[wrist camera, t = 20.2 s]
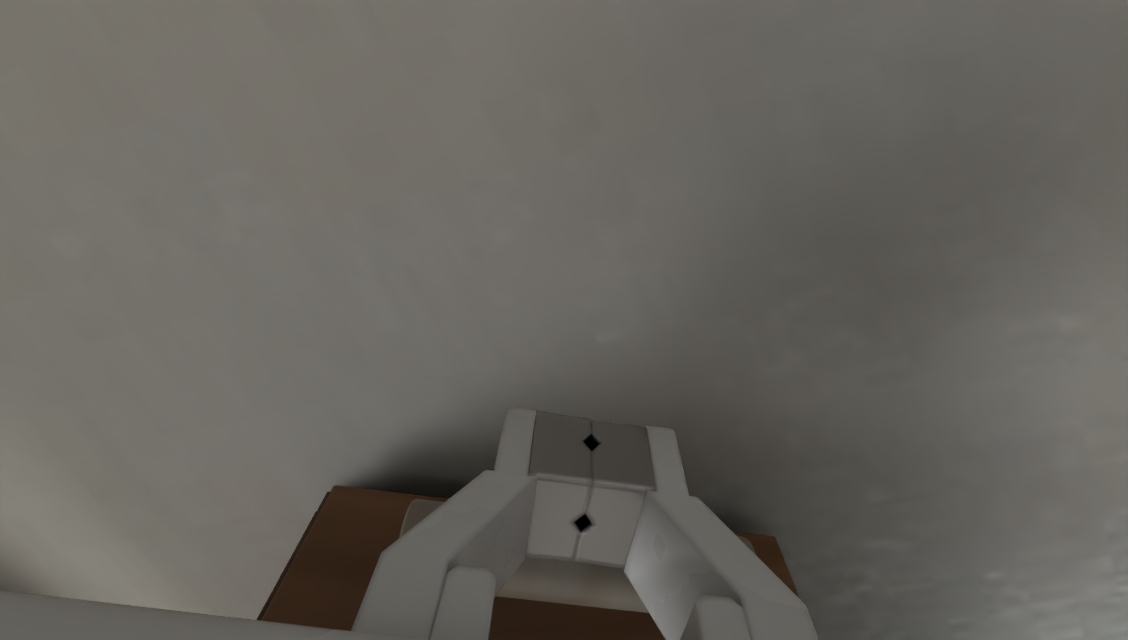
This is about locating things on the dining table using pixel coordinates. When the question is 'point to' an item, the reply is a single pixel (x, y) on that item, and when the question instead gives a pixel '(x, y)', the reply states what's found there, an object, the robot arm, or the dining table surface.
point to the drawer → (520, 610)
